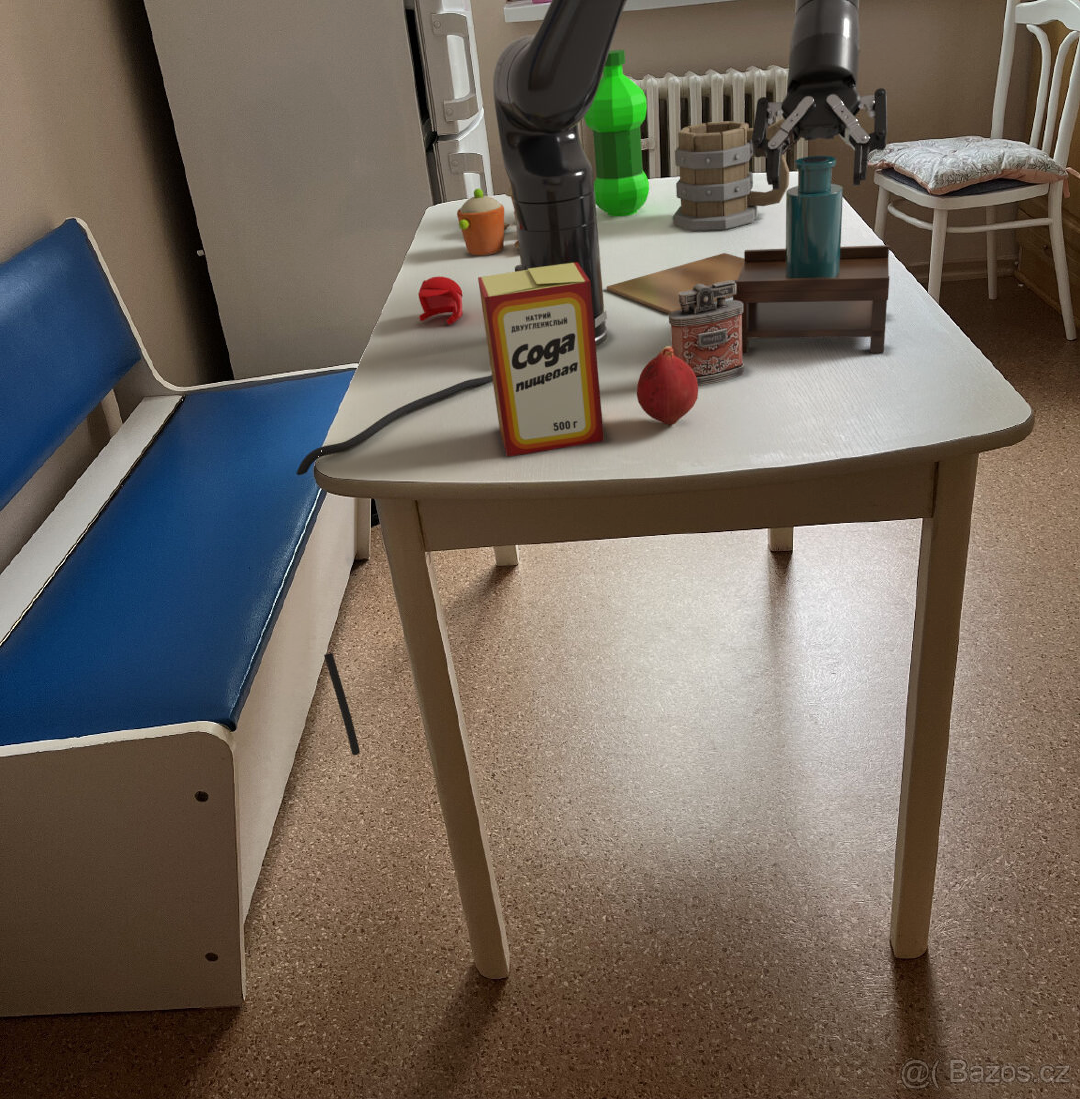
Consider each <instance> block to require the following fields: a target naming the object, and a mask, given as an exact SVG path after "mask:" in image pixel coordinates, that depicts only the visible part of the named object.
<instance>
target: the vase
mask: <svg viewBox="0 0 1080 1099" xmlns="http://www.w3.org/2000/svg"><path fill="white" fill-rule="evenodd" d="M836 165H837V158H836V157H835V156H829V155H812V156H805V157H804V156H803V157H801V158H798V159H795V161H794V165H793V166H794V169H795V170H798V171H797V185H796V186H793V187H790V188H787V190H786V192H785V195H786V197H785V199H786V200H785V202H786V203H785V249H786V266H785V275H786V277H787V278H826V277H836V276H838V275H839V273H840V251H841V247H842V225H843V224H842V222H843V198H844V197H843V196H844V195H843V194H844V188H843V186H842V185H839V184H835V183H832V178H833V177H832V176H833V174H832V172H833V168H834V167H835V166H836Z"/></svg>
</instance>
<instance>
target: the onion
mask: <svg viewBox="0 0 1080 1099" xmlns="http://www.w3.org/2000/svg"><path fill="white" fill-rule="evenodd" d="M673 352H674V350H673V348H672V345H669V346H668V345H667V346H666V345H665V346H664V347H663V348H662V349H661V351H660V352H659V353H658V354H657V355H656V356H655V357H653V358H652V359H651V360H650V361H648V363H647V364H646V365H645V366H644V367H643V369H642V371H641V372H640V374H639V377H638V380H637V385H636V386H637V387H636V397H637V402H638V404H639V406H640V407H641V409H642V410H643V411H644V413H645V414H646V415H647V416H649V417H650V418H652V419H654V420H656V421H658V422H660V423H662V424H664V425H666V426H673V425H676V423H677V422H679V420H681V418H683V417H684V416H686V415H687V413H689V412H690V410H692V409H693V407H695V404H696V402H697V400H698V399H699V386H698V383H697V379H696V376H695V374H694V372H693V370H692V369H691V368H690V367H689V366H688V365H687V364H686V363H685V362H684V361H683V360H681V359H680V358H678V357H676V356H674V354H673Z"/></svg>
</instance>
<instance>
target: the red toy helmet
mask: <svg viewBox="0 0 1080 1099" xmlns="http://www.w3.org/2000/svg"><path fill="white" fill-rule="evenodd" d="M417 295H418V301H419V303H420V305H421V308H422V310H423V313H421V314H420V315H419V318H418V319H419V321H420V322H423V321H425V320H426V321H427V320H428V319H429V318H431V317H434V316H436V315H442V314H449V313H451V315H450V316H449V317H448V318H447V320H446V323H447V324H448V325H450V326H451V325H453V323H456V321H458V320H459V319H461V317H462V316H463V314H464V310H463V290H462V287H461V286H460V285H459V284H458V283H457V282H456V281H455V280H454V279H451V278H449V277H446V276H433V277H430V278H428V279H426V280H423V281H422V283H421V286H420V287H419V290H418V294H417Z"/></svg>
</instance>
